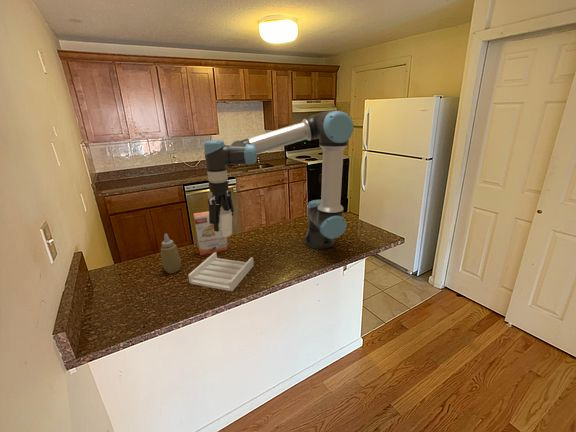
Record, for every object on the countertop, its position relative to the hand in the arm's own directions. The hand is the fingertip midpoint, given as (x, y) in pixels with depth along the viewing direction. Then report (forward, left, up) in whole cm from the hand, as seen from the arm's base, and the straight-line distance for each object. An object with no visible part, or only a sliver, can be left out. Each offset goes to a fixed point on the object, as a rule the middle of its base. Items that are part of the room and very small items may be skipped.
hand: (224, 233), depth 118 cm
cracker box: (+17, -14, -18) cm, 29 cm away
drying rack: (+1, +4, -18) cm, 18 cm away
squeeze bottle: (+25, +7, -18) cm, 31 cm away
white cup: (0, 0, 0) cm, 0 cm away
